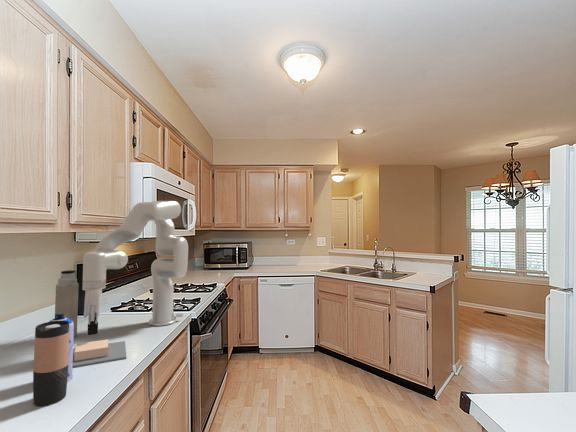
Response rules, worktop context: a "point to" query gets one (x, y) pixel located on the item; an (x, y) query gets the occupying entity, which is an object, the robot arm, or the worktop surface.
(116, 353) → the mat
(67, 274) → the thermos bottle
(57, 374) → the travel mug
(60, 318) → the aerosol can
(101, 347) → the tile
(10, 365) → the worktop surface
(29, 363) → the worktop surface
